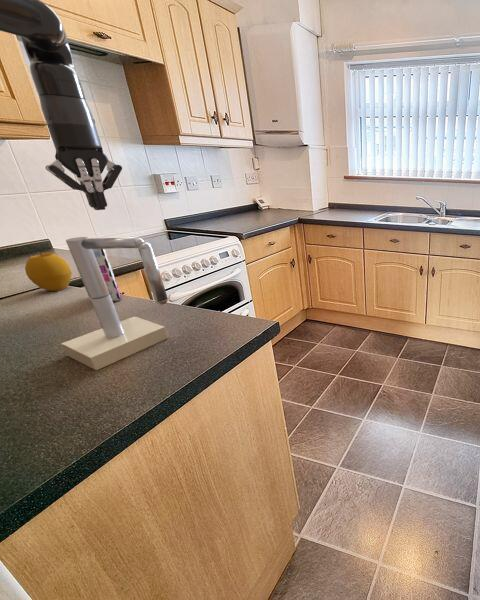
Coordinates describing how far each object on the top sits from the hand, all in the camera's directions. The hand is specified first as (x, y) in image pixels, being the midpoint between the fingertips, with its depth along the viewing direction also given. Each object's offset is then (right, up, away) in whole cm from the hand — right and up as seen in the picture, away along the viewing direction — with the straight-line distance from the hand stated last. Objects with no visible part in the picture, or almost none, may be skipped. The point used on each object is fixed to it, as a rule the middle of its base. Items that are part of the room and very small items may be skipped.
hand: (99, 209), depth 76 cm
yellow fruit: (-40, -17, +30) cm, 53 cm away
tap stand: (+6, -31, -2) cm, 31 cm away
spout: (+12, -21, -6) cm, 25 cm away
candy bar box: (-18, -20, +24) cm, 36 cm away
